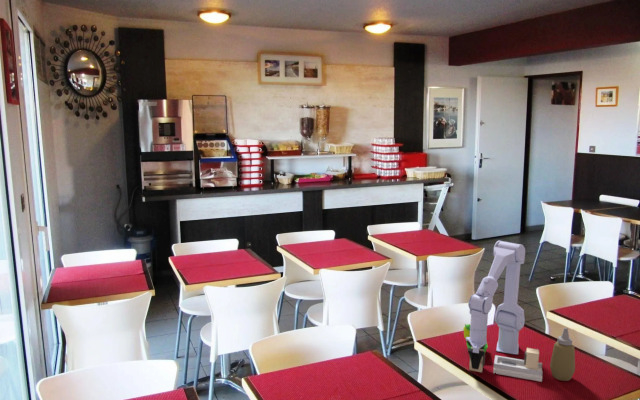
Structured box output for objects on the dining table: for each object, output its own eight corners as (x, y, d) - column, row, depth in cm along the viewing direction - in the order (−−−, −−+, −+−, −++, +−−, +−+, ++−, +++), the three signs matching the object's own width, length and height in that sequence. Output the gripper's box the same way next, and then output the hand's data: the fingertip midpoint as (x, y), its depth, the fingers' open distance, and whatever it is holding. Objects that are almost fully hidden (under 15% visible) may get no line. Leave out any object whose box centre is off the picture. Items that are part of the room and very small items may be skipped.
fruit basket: (487, 360, 198) (489, 331, 196) (462, 357, 200) (464, 329, 198) (484, 347, 209) (486, 320, 207) (461, 345, 211) (462, 318, 209)
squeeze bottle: (572, 374, 188) (577, 325, 185) (575, 384, 180) (580, 334, 178) (548, 370, 191) (552, 322, 188) (549, 380, 183) (554, 331, 180)
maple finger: (470, 365, 194) (471, 347, 192) (484, 367, 192) (485, 349, 191) (469, 370, 190) (470, 351, 189) (483, 372, 188) (484, 354, 187)
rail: (494, 361, 197) (496, 339, 196) (541, 369, 191) (543, 347, 190) (493, 373, 188) (494, 350, 187) (541, 381, 182) (543, 358, 181)
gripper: (469, 319, 197) (466, 354, 199) (464, 333, 183) (462, 370, 185) (488, 322, 194) (486, 357, 196) (486, 336, 181) (483, 374, 183)
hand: (476, 364), depth 191 cm, fingers open, 7 cm apart
